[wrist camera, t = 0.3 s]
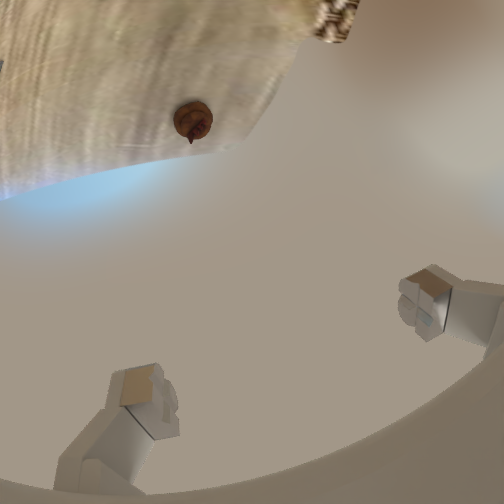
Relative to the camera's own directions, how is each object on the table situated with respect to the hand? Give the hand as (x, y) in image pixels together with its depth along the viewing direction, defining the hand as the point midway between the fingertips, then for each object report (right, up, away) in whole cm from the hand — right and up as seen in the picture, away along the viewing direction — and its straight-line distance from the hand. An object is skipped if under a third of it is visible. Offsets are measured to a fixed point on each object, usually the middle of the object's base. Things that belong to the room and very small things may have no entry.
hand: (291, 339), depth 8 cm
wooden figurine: (-13, +29, +41) cm, 52 cm away
